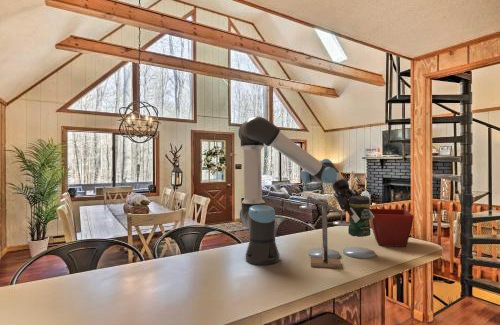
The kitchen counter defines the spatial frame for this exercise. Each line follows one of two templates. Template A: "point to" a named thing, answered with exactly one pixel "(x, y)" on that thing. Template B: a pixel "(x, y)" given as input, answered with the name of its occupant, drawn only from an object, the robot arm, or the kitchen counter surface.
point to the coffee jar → (360, 216)
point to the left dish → (319, 253)
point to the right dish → (358, 252)
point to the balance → (325, 235)
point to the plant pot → (391, 226)
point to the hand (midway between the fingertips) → (365, 219)
